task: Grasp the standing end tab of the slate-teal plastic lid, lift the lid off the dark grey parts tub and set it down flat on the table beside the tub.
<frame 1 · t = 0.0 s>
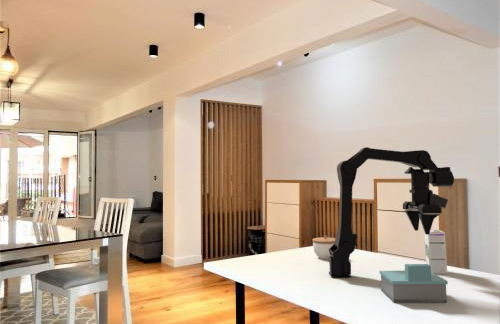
hand: (421, 232, 131), 15 cm above the table, fingers open, 9 cm apart
tub: (412, 296, 108), on the table
syrup box: (436, 272, 135), on the table
lidded jar: (325, 258, 161), on the table
lid: (411, 281, 108), point 4 cm above the table, touching tub
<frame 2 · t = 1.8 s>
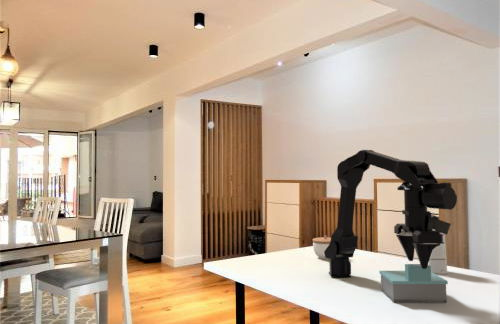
hand: (417, 264, 104), 10 cm above the table, fingers open, 9 cm apart
nothing on the table moved.
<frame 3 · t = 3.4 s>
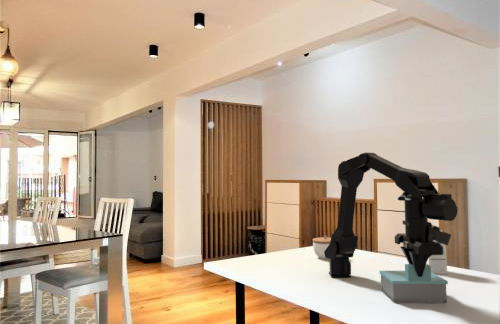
hand: (417, 275, 104), 7 cm above the table, fingers closed on lid, 2 cm apart
lid: (411, 281, 108), point 4 cm above the table, touching gripper, tub
everything else where it was.
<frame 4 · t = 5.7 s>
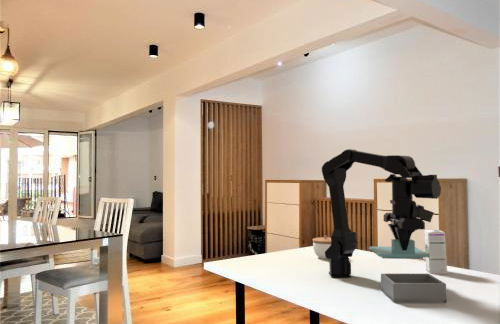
hand: (402, 249, 114), 12 cm above the table, fingers closed on lid, 2 cm apart
lid: (398, 255, 119), point 9 cm above the table, touching gripper
everything else where it was.
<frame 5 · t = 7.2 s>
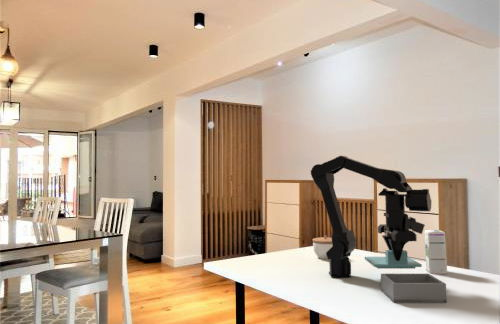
hand: (396, 259, 120), 8 cm above the table, fingers closed on lid, 2 cm apart
lid: (391, 265, 125), point 5 cm above the table, touching gripper
everything else where it was.
when the fingers open (4 cm above the table, at t = 8.4 s): lid drops 2 cm, on the table.
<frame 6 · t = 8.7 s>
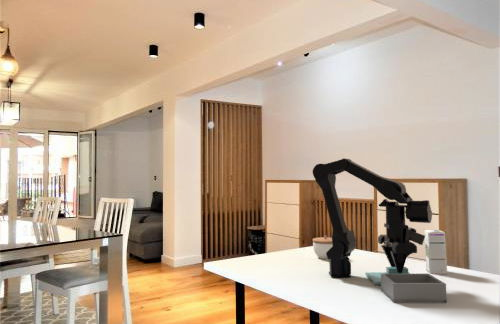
hand: (396, 270, 120), 4 cm above the table, fingers open, 5 cm apart
lid: (392, 281, 124), on the table
everything else where it was.
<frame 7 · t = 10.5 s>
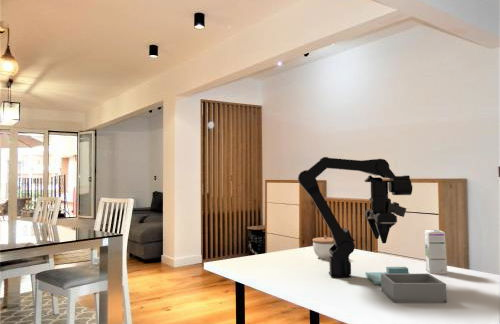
hand: (380, 240, 131), 12 cm above the table, fingers open, 9 cm apart
nothing on the table moved.
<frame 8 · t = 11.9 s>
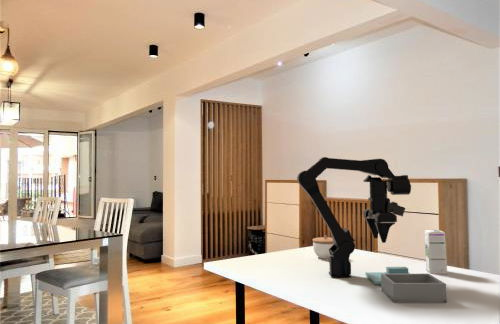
hand: (379, 240, 131), 12 cm above the table, fingers open, 9 cm apart
nothing on the table moved.
at the end: lid touching table; lid inside the target area (0.1 cm from its centre), on the table; lid tilted 0° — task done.
